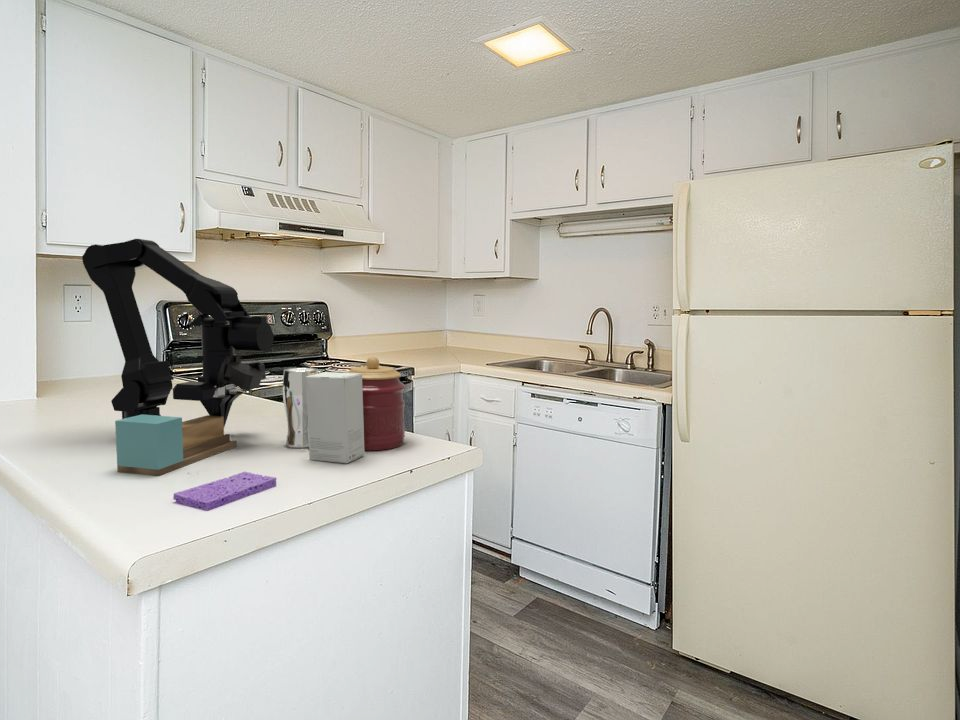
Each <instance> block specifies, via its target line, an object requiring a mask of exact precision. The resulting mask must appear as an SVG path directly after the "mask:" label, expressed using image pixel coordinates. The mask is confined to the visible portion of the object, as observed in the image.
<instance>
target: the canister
mask: <svg viewBox="0 0 960 720" xmlns="http://www.w3.org/2000/svg"><path fill="white" fill-rule="evenodd" d="M365 365H366V366H355V367H351V369H350V370H348V371H347V372H345V373H361V374H362V390H363V420H364V451H384V450H390V449H394V448H398V447H399V446H401V445H403V443H404V441H405V437H406V435H405V432H406V431H405V404H406V402H405V399H404V397H403V396H404V395H403V394H404V393H403V391H404V390H405V388H406V385H405V384H404V383H403V382H402V381H401V380H400V377H401V376H402V374H401V373H400V372H399V371H397V370H396V369H395V368H394V367H390V366H384V365H383V366H381V365H380V360H379V358H378V357H375V356H370V357H368V358H367V359H366V362H365Z"/></svg>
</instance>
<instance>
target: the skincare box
mask: <svg viewBox="0 0 960 720" xmlns="http://www.w3.org/2000/svg"><path fill="white" fill-rule="evenodd" d="M306 393H307V415H308V437H309V447H308V455H309V456H308V457H309V460H310V461H319V462H329V463H331V462H332V463H341V464H349V463H351V462H353V461H355V460H357V459H359V458H362V457H363V456H364V455H365V451H366V450H364V420H363V390H362V374H361V373H346V372H335V371H334V372H333V371H325V372H324V371H323V372H318V374H315V375H310V376H306Z"/></svg>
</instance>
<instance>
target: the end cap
mask: <svg viewBox="0 0 960 720" xmlns="http://www.w3.org/2000/svg"><path fill="white" fill-rule="evenodd" d="M114 422H115V423H114V425H115V445H116V464H117V466H126V467H136V468H146V469H156V470H159V469H162V468H165V467H168V466H170V465H173V464H176V463H179V462H181V461H183V435H182V422H183V417H179V416H167V415H166V416H165V415H161V416H156V415H143V414H142V415H138V416H133V417H129V418H125V419H122V418H121V419H117V420H115V421H114Z"/></svg>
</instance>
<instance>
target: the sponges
mask: <svg viewBox="0 0 960 720" xmlns="http://www.w3.org/2000/svg"><path fill="white" fill-rule="evenodd" d="M275 487H277V477H276V476H269V475H264V476H263V475H262V474H258V473H257V474H255V473H253V472H247V471H242V472H239V473H237V474H233V475H231V476H228V477H224V478H221V479H217V480H214V481H211V482H207V483H203V484H201V485H198V486H194V487H191V488H188V489H184V490H180V491H178V492H174V493H173V497H172V498H173V500H174V501H175V504H178V505H182V506H186V507H191V508H195V509H199V510H203V511H207V512H208V511H210V510H213V509H217V508H219V507H221V506H225V505H227V504H230V503H232V502H236V501H238V500H241V499H244V498H247V497H249V496H252V495H255V494H257V493H261V492H263V491H267V490H269V489H273V488H275Z"/></svg>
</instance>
